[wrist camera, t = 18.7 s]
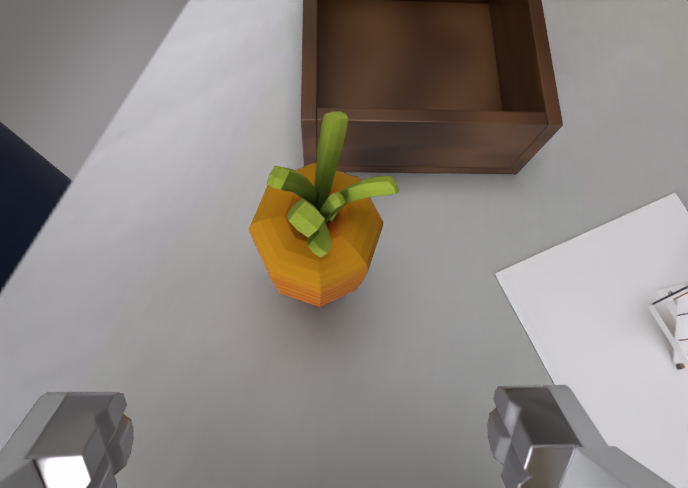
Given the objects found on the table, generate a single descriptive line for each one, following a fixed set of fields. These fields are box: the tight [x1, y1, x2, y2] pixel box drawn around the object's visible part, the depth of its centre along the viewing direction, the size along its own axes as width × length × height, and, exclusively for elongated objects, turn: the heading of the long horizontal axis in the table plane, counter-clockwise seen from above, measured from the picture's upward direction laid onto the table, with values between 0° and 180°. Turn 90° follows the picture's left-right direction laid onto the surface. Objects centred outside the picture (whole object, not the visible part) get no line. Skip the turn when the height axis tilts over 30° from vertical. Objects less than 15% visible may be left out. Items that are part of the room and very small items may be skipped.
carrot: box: [249, 112, 399, 307], centre depth 19 cm, size 5×5×15 cm
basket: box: [301, 0, 563, 174], centre depth 28 cm, size 14×14×6 cm
